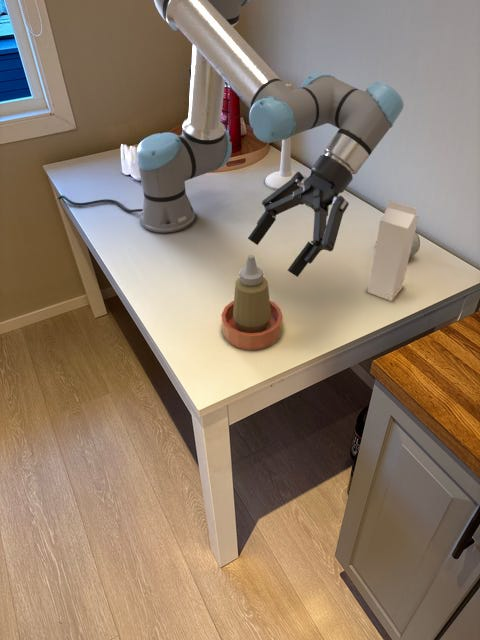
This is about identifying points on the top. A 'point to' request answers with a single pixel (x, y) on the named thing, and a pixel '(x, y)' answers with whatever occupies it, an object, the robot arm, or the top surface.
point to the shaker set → (130, 162)
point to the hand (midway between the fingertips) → (271, 257)
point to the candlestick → (282, 165)
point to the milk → (392, 250)
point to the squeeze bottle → (251, 299)
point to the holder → (252, 339)
